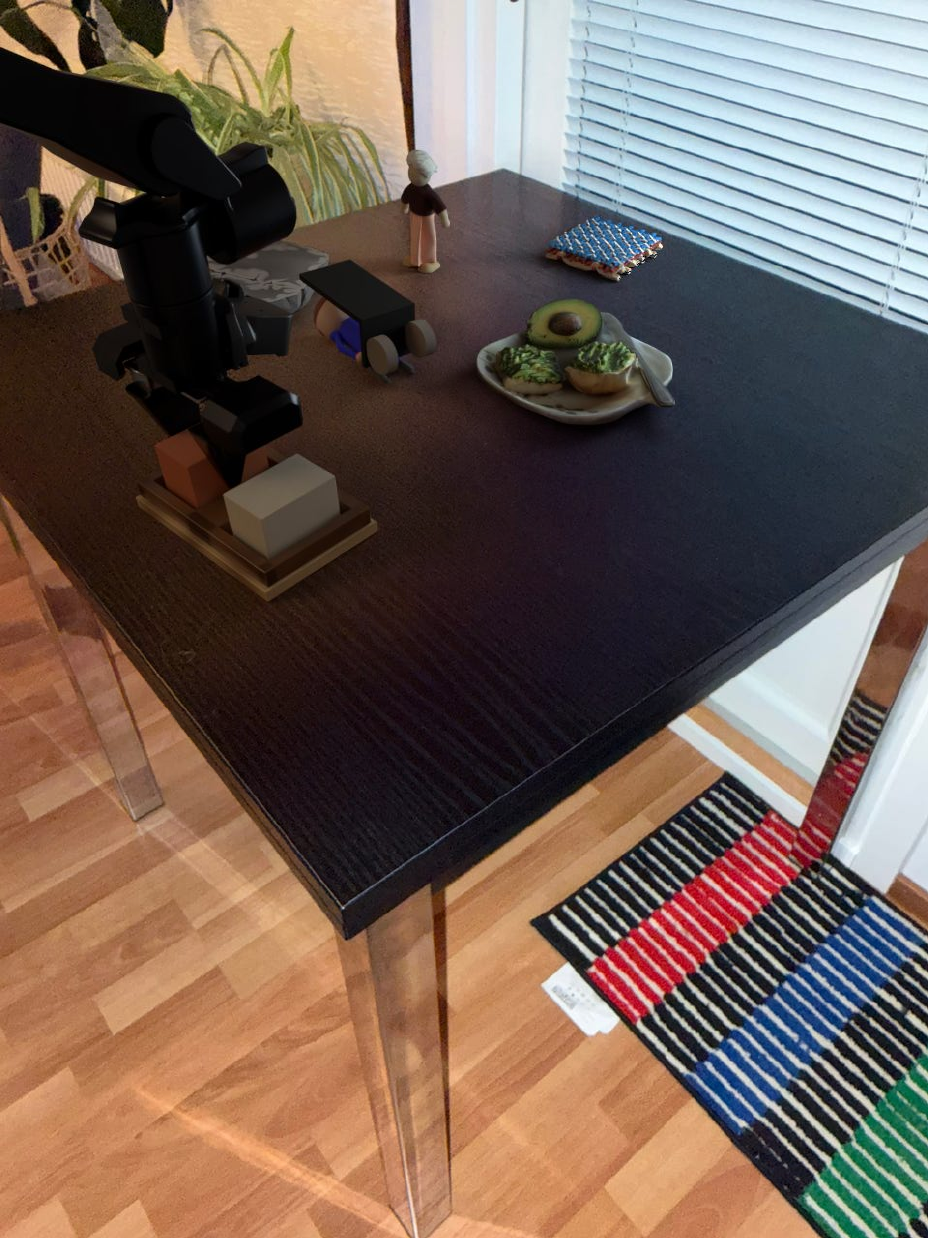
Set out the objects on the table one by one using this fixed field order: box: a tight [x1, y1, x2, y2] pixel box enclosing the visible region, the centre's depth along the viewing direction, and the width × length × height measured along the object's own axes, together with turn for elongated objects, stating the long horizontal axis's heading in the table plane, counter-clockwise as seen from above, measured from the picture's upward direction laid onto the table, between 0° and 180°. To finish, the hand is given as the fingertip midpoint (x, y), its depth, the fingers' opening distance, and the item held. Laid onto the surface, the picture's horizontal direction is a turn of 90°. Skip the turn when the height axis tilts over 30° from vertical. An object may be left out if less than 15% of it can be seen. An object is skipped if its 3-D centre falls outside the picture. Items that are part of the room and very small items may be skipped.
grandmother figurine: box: [399, 149, 451, 274], centre depth 103 cm, size 8×4×13 cm, turn 57°
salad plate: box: [475, 298, 676, 426], centre depth 87 cm, size 19×18×5 cm
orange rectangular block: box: [154, 421, 269, 510], centre depth 74 cm, size 7×4×4 cm, turn 137°
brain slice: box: [207, 240, 330, 314], centre depth 101 cm, size 20×17×3 cm
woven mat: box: [545, 216, 664, 282], centre depth 108 cm, size 10×11×2 cm
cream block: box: [223, 453, 340, 560], centre depth 70 cm, size 7×4×4 cm, turn 137°
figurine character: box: [299, 259, 437, 385], centre depth 90 cm, size 7×8×15 cm
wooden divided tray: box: [135, 444, 378, 603], centre depth 74 cm, size 17×11×2 cm, turn 47°
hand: (216, 473), depth 75 cm, fingers closed on orange rectangular block, 4 cm apart
